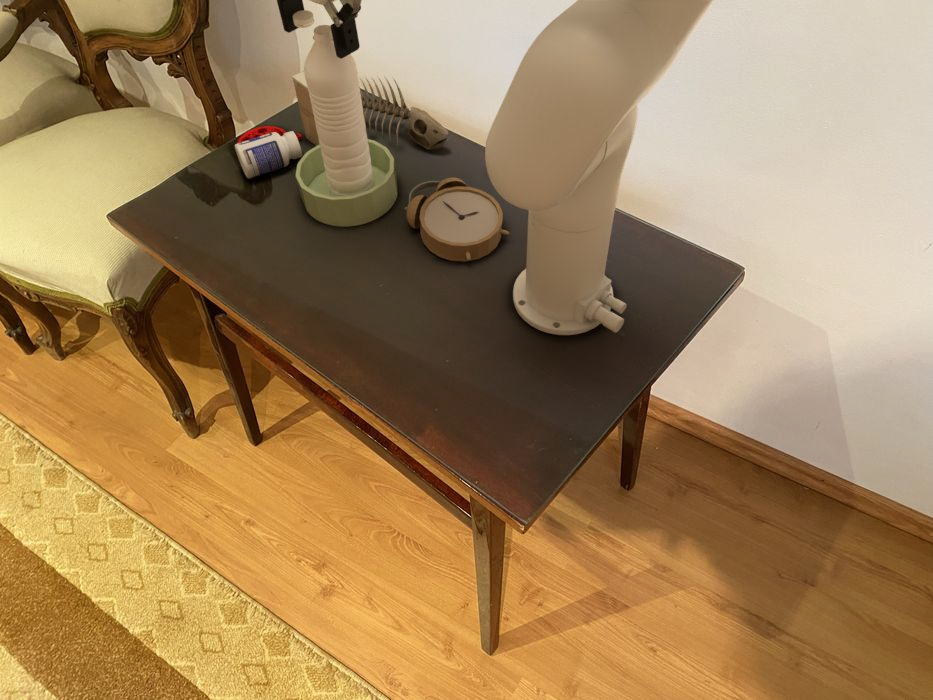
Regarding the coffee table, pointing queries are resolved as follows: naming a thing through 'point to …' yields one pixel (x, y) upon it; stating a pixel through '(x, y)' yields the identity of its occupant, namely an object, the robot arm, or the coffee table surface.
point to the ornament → (257, 133)
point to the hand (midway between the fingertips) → (321, 40)
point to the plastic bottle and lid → (337, 112)
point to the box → (305, 107)
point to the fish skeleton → (416, 126)
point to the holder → (347, 207)
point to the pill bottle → (267, 153)
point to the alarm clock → (456, 220)
